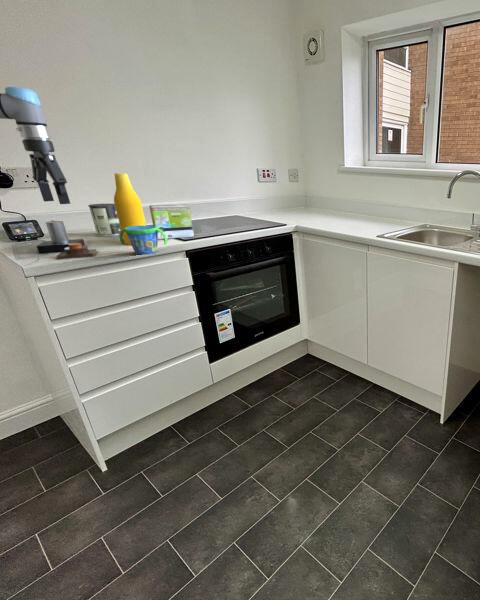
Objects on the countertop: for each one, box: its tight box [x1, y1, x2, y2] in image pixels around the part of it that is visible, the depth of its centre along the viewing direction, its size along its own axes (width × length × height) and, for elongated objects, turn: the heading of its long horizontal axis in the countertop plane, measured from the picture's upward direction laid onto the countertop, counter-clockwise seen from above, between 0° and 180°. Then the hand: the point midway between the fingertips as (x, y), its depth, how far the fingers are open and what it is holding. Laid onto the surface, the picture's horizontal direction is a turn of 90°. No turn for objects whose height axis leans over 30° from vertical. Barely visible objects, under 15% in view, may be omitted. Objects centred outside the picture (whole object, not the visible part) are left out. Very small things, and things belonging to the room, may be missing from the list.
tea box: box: [148, 204, 194, 241], centre depth 166 cm, size 15×10×15 cm, turn 129°
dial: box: [45, 219, 70, 243], centre depth 137 cm, size 5×5×8 cm
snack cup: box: [118, 224, 168, 256], centre depth 137 cm, size 16×10×10 cm
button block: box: [56, 245, 98, 260], centre depth 132 cm, size 10×8×3 cm
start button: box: [69, 243, 82, 249], centre depth 131 cm, size 4×4×2 cm
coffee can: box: [88, 203, 121, 237], centre depth 166 cm, size 10×10×14 cm
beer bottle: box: [113, 172, 147, 246], centre depth 149 cm, size 9×9×29 cm
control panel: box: [36, 238, 86, 255], centre depth 139 cm, size 12×10×3 cm
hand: (57, 202), depth 129 cm, fingers open, 13 cm apart
